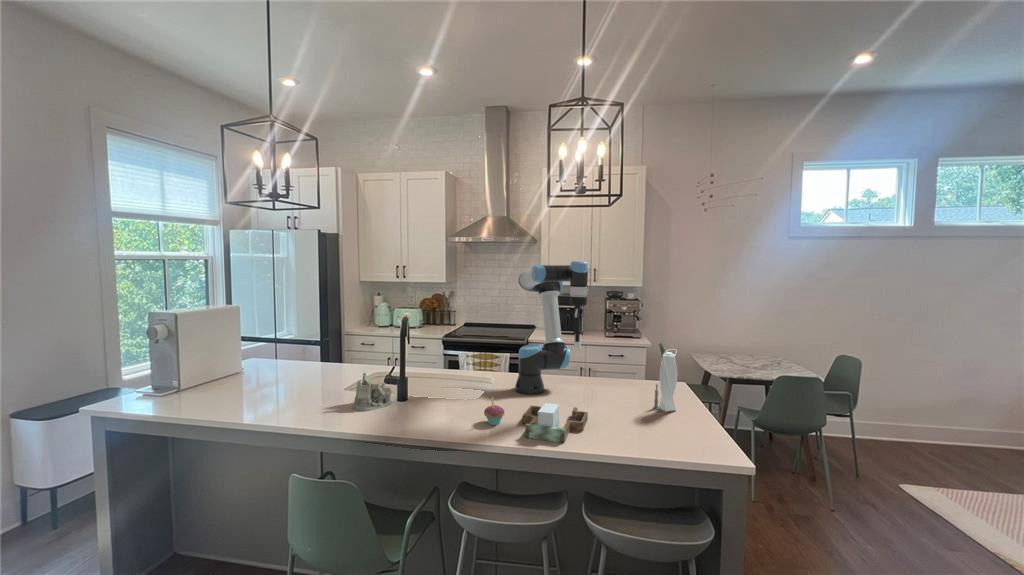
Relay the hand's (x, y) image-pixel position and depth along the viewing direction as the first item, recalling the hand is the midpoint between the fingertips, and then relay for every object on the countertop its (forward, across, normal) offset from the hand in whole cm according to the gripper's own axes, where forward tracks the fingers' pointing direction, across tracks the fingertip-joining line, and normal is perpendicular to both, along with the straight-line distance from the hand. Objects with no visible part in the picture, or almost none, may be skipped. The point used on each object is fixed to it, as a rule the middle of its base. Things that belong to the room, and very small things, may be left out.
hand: (577, 348), depth 193 cm
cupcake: (+29, -26, +30) cm, 49 cm away
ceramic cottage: (+29, -25, +90) cm, 98 cm away
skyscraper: (+29, +15, -39) cm, 51 cm away
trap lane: (+28, -21, +6) cm, 36 cm away
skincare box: (+29, -29, +6) cm, 41 cm away
